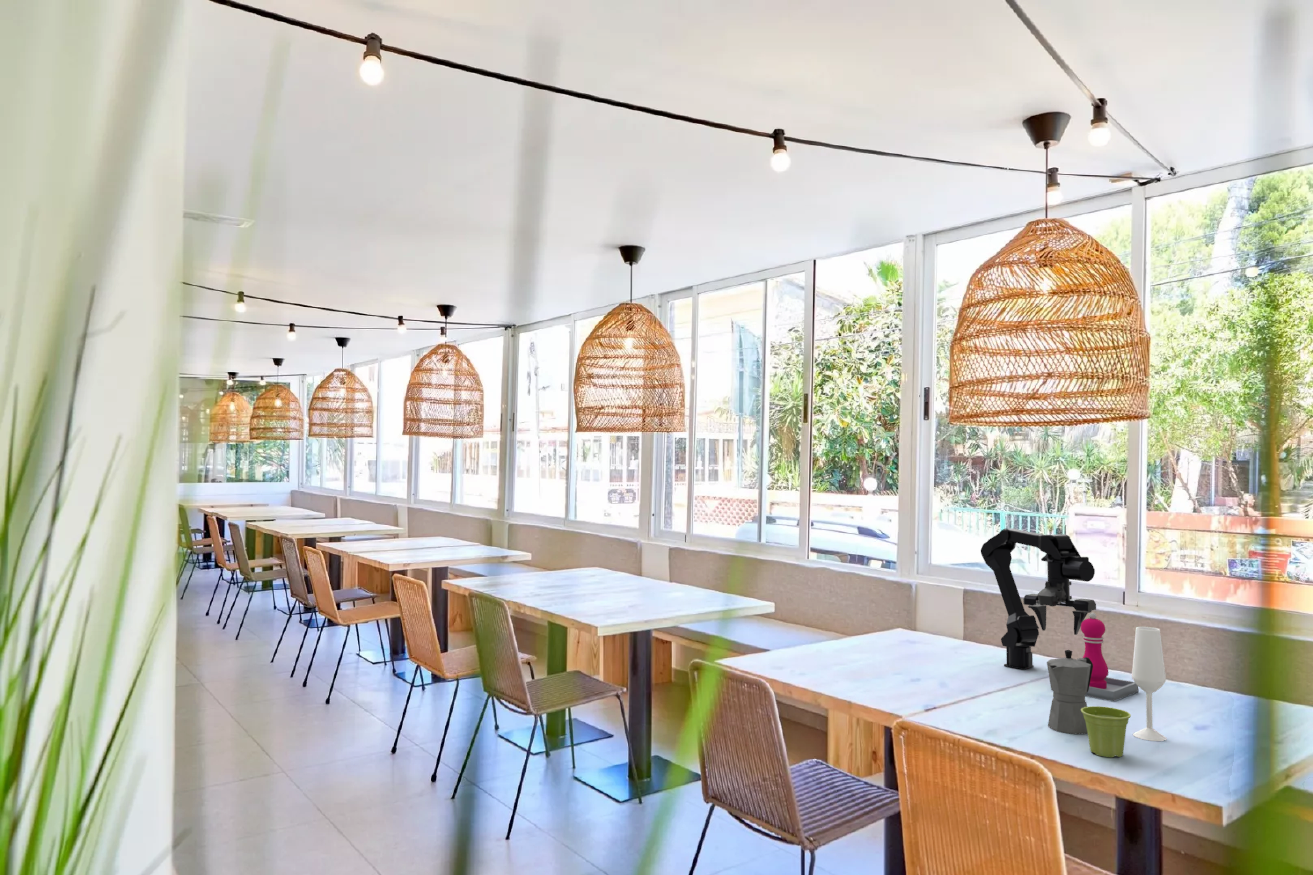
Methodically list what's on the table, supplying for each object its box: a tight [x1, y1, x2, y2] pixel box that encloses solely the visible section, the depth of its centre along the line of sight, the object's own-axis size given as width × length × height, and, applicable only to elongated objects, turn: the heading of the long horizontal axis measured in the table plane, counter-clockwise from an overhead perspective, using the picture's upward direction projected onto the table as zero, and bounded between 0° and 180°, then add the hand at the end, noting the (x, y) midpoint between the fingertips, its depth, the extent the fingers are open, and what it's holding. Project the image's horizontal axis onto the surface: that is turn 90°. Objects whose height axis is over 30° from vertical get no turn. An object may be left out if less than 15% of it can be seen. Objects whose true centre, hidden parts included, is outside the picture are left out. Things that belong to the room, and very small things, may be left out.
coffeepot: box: [1046, 649, 1093, 735], centre depth 202 cm, size 15×9×18 cm, turn 121°
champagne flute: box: [1131, 626, 1168, 742], centre depth 196 cm, size 7×7×24 cm
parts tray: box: [1085, 676, 1139, 702], centre depth 237 cm, size 16×16×2 cm
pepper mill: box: [1080, 612, 1109, 689], centre depth 238 cm, size 7×7×20 cm
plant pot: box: [1081, 705, 1132, 758], centre depth 184 cm, size 9×9×9 cm
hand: (1059, 632), depth 252 cm, fingers open, 9 cm apart
